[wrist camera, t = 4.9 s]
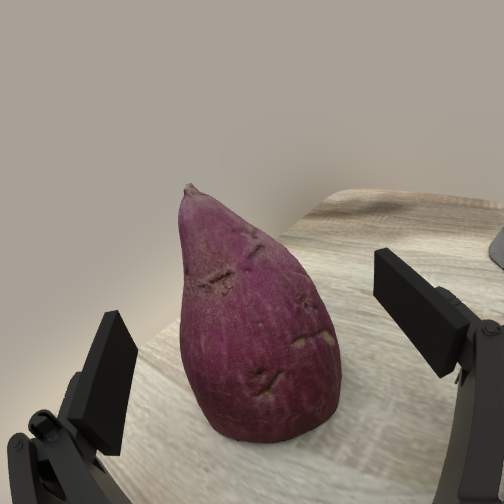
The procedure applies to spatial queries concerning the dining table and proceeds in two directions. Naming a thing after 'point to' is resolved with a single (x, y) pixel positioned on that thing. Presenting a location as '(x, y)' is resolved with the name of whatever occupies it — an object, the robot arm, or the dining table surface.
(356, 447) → the dining table surface
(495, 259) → the cloth
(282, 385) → the vegetable
